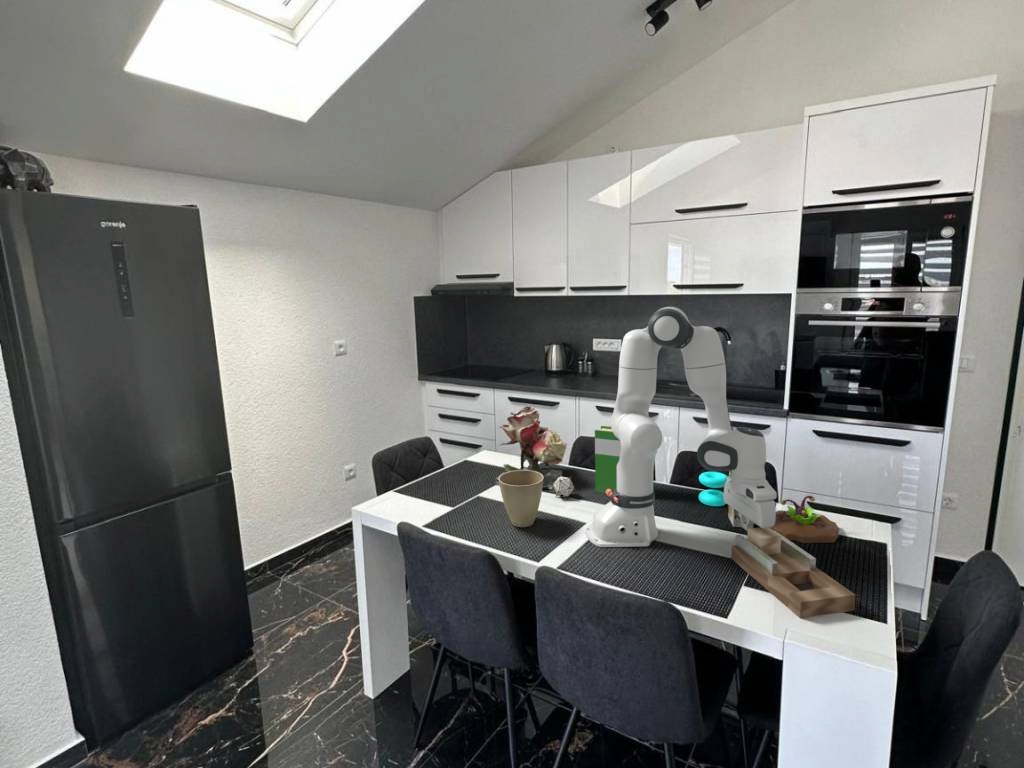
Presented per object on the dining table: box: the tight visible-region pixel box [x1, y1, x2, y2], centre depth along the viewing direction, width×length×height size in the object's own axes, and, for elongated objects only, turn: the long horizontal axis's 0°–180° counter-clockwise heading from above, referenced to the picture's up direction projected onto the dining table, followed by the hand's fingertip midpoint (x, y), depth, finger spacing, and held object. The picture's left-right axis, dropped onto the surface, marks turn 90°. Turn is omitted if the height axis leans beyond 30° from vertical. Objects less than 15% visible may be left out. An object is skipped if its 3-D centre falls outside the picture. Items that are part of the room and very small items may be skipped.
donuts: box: [698, 471, 729, 507], centre depth 190 cm, size 10×10×10 cm
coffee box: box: [727, 471, 755, 528], centre depth 173 cm, size 9×6×16 cm
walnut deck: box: [730, 544, 856, 619], centre depth 138 cm, size 14×28×4 cm, turn 9°
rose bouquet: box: [494, 405, 568, 490], centre depth 220 cm, size 26×29×30 cm
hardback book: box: [594, 425, 621, 494], centre depth 202 cm, size 18×7×24 cm, turn 61°
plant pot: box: [498, 470, 544, 528], centre depth 179 cm, size 15×15×16 cm
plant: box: [769, 495, 840, 544], centre depth 167 cm, size 20×20×11 cm
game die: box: [550, 475, 577, 500], centre depth 201 cm, size 9×8×10 cm
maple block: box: [746, 526, 781, 555], centre depth 147 cm, size 6×6×5 cm
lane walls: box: [734, 531, 817, 575], centre depth 143 cm, size 12×16×3 cm
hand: (746, 529), depth 156 cm, fingers closed
